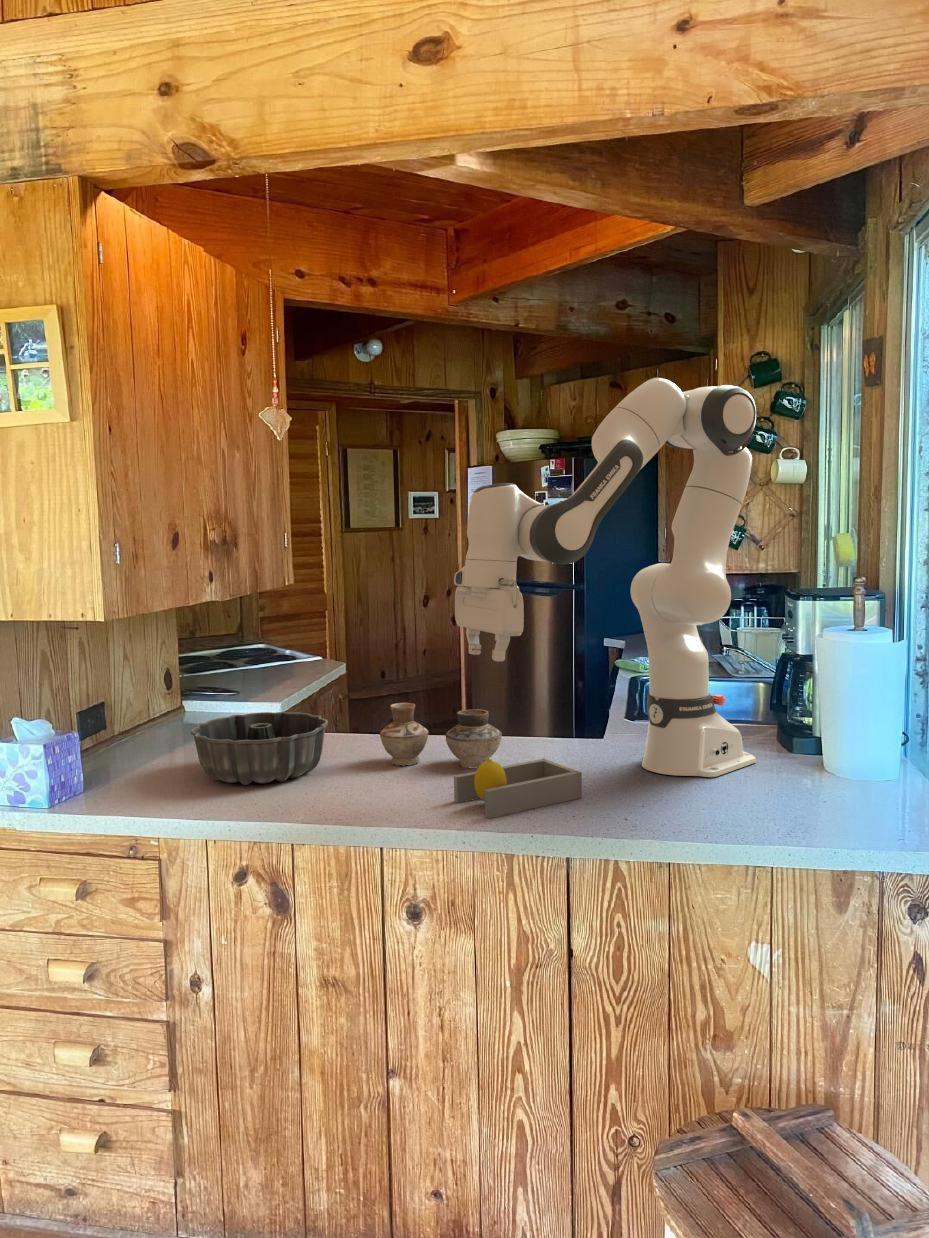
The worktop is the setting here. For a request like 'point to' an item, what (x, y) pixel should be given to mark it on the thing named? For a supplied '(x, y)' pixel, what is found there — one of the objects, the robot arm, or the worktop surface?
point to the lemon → (489, 777)
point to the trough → (523, 787)
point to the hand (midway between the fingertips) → (486, 657)
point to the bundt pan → (260, 746)
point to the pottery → (465, 740)
